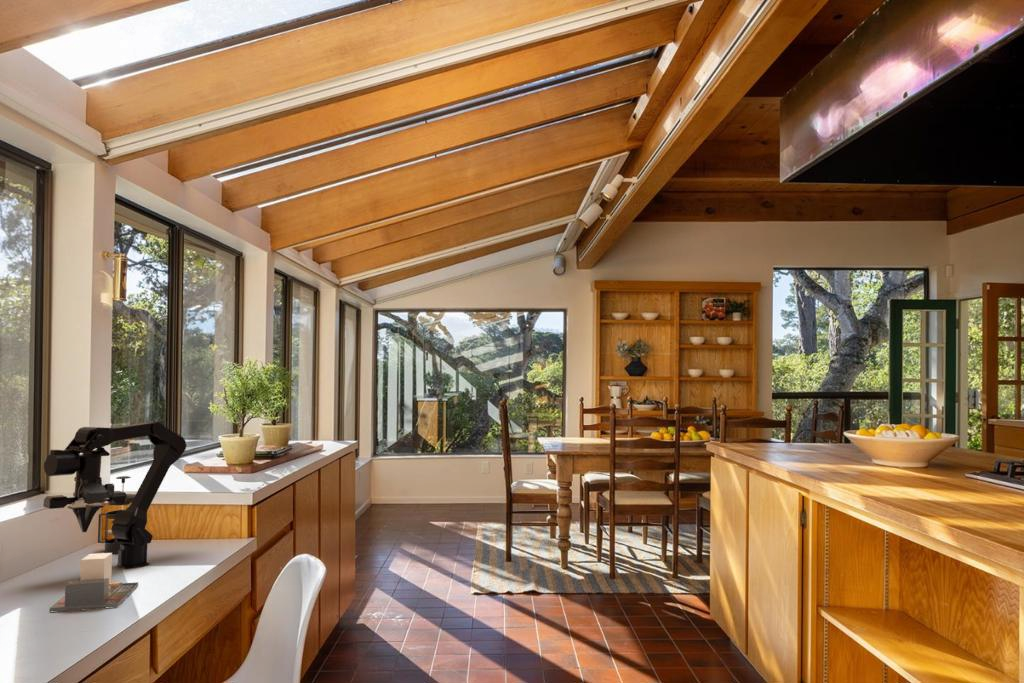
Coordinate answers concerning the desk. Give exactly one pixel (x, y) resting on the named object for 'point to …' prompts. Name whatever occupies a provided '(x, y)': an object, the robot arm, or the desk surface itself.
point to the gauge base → (93, 595)
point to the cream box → (97, 567)
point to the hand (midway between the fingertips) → (84, 532)
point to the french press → (112, 544)
